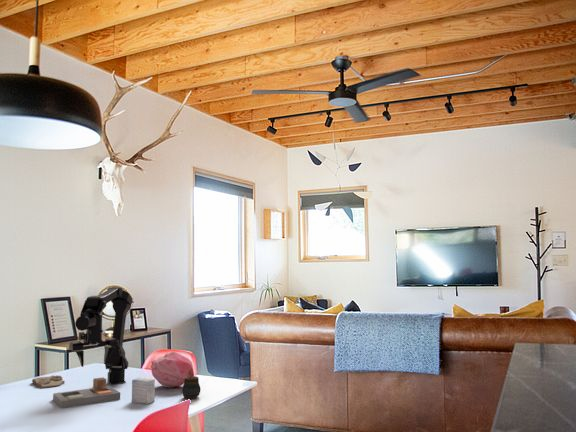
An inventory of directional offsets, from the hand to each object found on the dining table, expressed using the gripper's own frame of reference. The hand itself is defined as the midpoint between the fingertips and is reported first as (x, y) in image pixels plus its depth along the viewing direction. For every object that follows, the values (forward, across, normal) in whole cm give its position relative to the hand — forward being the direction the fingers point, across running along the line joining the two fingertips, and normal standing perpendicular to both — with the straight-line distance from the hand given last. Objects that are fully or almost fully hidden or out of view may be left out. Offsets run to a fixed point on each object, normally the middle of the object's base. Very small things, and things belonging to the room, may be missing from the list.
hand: (93, 365), depth 220 cm
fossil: (+12, +10, -30) cm, 34 cm away
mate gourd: (+12, -30, +29) cm, 43 cm away
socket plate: (+12, +5, +7) cm, 14 cm away
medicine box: (+12, -12, +23) cm, 29 cm away
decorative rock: (+12, -31, +8) cm, 35 cm away
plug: (+12, -1, +5) cm, 13 cm away
